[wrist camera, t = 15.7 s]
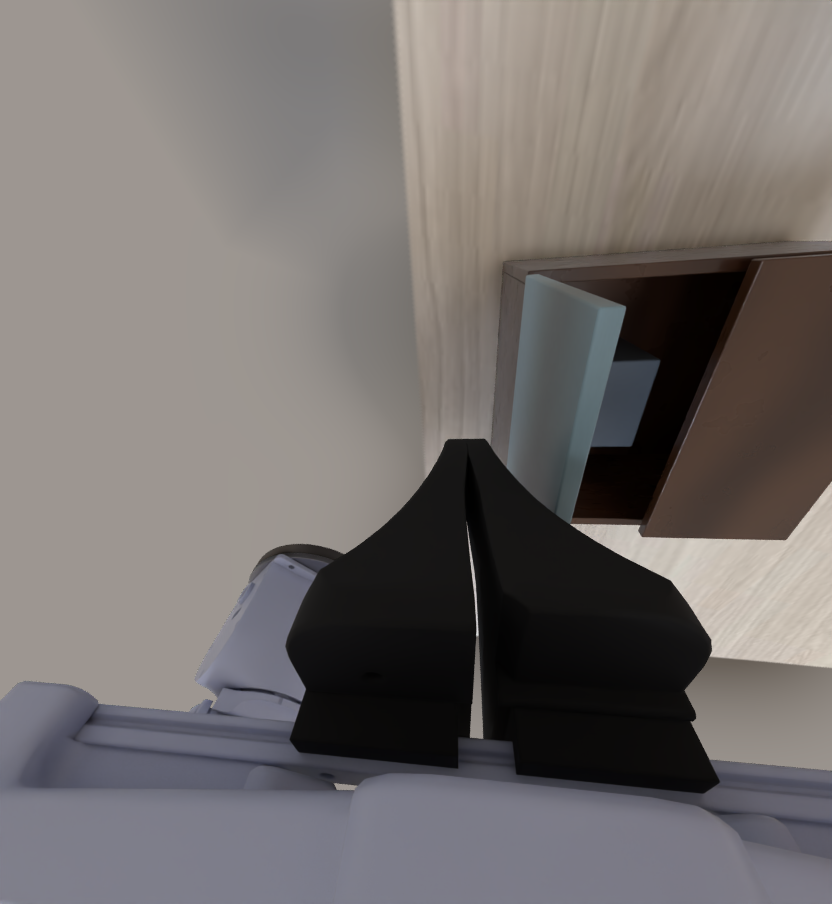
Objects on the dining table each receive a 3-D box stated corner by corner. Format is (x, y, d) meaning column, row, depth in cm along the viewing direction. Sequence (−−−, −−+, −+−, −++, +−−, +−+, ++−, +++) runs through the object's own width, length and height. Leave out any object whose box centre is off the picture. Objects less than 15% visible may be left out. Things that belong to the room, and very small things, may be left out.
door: (508, 532, 15) (499, 532, 15) (539, 273, 10) (525, 274, 10) (534, 666, 10) (521, 665, 10) (628, 305, 5) (599, 307, 5)
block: (524, 410, 18) (540, 448, 15) (533, 338, 16) (554, 363, 13) (598, 409, 18) (632, 447, 15) (617, 334, 16) (662, 359, 13)
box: (490, 456, 21) (504, 535, 15) (503, 261, 15) (533, 272, 9) (690, 455, 19) (787, 541, 14) (789, 240, 14) (1023, 239, 8)
